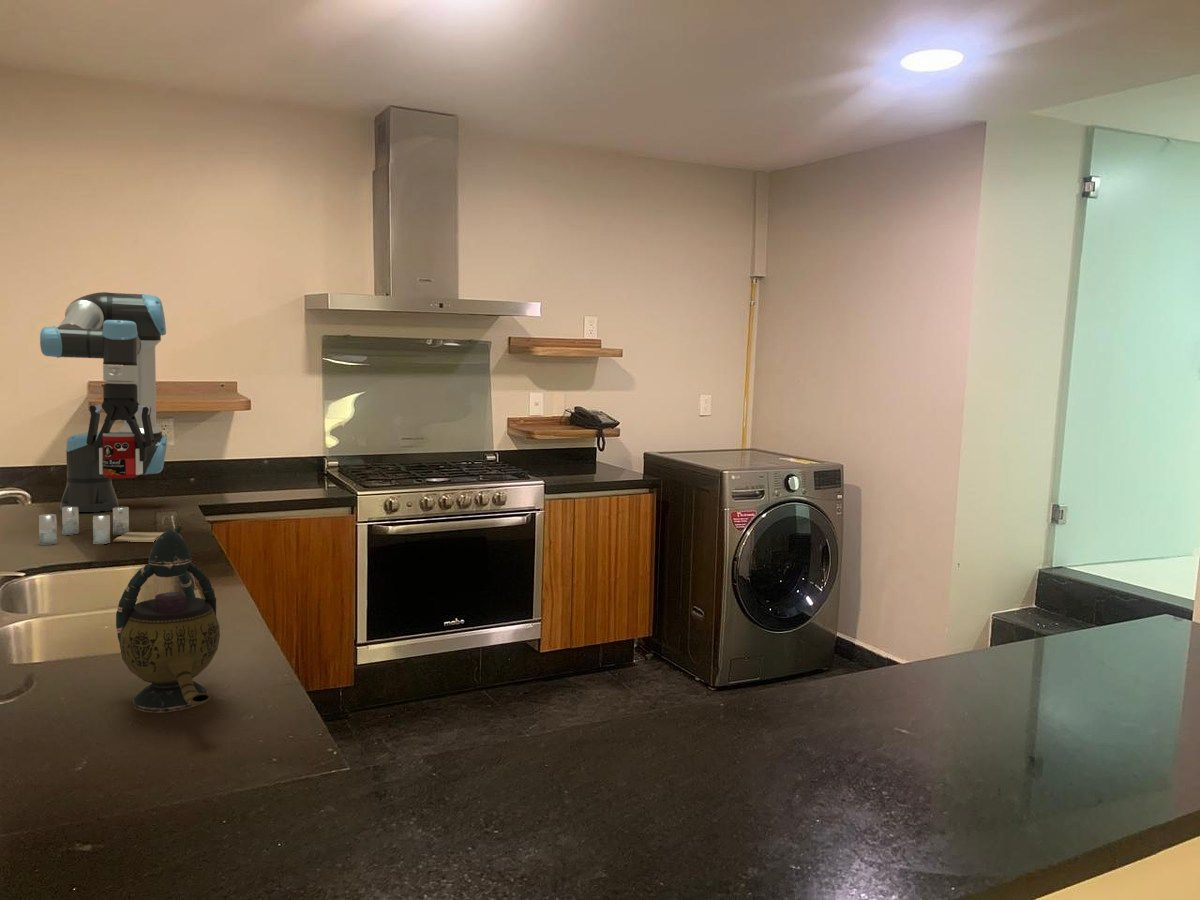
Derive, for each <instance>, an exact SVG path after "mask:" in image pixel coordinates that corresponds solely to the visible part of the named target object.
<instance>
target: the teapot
mask: <svg viewBox="0 0 1200 900" xmlns="http://www.w3.org/2000/svg"><path fill="white" fill-rule="evenodd" d="M182 529H183V526H177V527H176V529H175V530H174V529H173V528H171V527H170V528H168V529H167V530H165V531H163V532H164V533H163V534H161V535H160V537H159V538H158V539H157V540H156V541H155V542H153V546H152V547H151V550H150V553H149V556H148V563H146V564H145V565H143V566H142V567H140V568H139V570H138V571H136V573H135V574H134V575H133V576H132V577H131V579H130V580H129V582H128V583H127V585H126V587H125V589H124V590H123V591H122V592H123V593H122V595H121V597H120V599H119V601H118V605H117V610H116V614H115V626H116V627H115V628H116V633H117V634H116V635H117V640H118V642H119V648H120V653H121V658H122V661H123V662H124V665H126V667H127V669H128V671H130V672H131V673H132V674H134V675H135V676H136V677H138V678H139V679H140V680H142V681H143V682H145V683H150V684H148V685H147V686H146V687H144V688H143V689H142V690H141V691H140V692H139V693H138V694H137V695H136V696H135V697H133V699H132V707H133V708H134V709H136V710H137V711H142V712H145V713H169V712H171V713H172V712H177V711H182V710H186V709H190V708H193V707H196V706H201V705H203V704H205V703H206V702H207V701H209V700H211V697H212V696H211V694H210V693H209V691H208V689H207V688H205V687H204V686H202V685H200V684H199V683H198V682H196V681H194V680H193V678H195V677H197V676H199V674H201V673H202V672H203V671H204V670H205V669H206V668H207V667H208V666H209V665H210V664H211V662H212V660H213V659H214V657H215V655H216V653H217V652H218V649H219V643H220V638H221V633H220V631H221V630H220V629H221V628H220V623H219V620H218V618H217V597H216V596H215V595H216V594H215V589H214V588H213V587H212V583H211V580H210V577H209V576H206V574H205V573H204V572H203V571H202V569H201V568H200V567H197V566H195V565H194V564H193V563H192V554H191V551H190V549H189V545H188V543H187V541H186V540H185V539H184V538H183V537H182V535H181V534H180V533H181V531H182ZM190 574H192V576H194V578H195V579H196V580H197V581H198V583H199V586H200V587H201V589H202V590H201V591H202V595H203V597H204V598H200V597H196V594H195V590H194V586H193V583H192V579H191V576H190ZM153 575H155V576H156V577H159V578H176V577H178V579H179V583H180V585H181V589H182V591H181V592H180V591H170V592H169V591H168V592H162V593H158V594H156V595H155V596H154V598H153V599H148V600H143V601H139V602H138V603H137V601H138V596H139V593H140V591H141V589H142V588H141V587H142V586H143V585H144V584H145V583H146V581H147V580H148V579H149V578H150V577H152V576H153Z"/></svg>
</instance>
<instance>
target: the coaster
mask: <svg viewBox="0 0 1200 900" xmlns="http://www.w3.org/2000/svg"><path fill="white" fill-rule="evenodd" d="M164 532H165V531H162V532H161V531H160V532H159V531H155V532H154V531H151V532H150V531H149V532H148V531H145V532H144V531H129V532H127V533H125V534H123V535H121V536H117V537H116V538H114V539H113V542H114V541H128V542H129V541H130V542H153V543H155V542H156V541H155V540H157V539H158V538H159V537H160V535H161V534H163V533H164ZM154 541H155V542H154Z"/></svg>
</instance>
